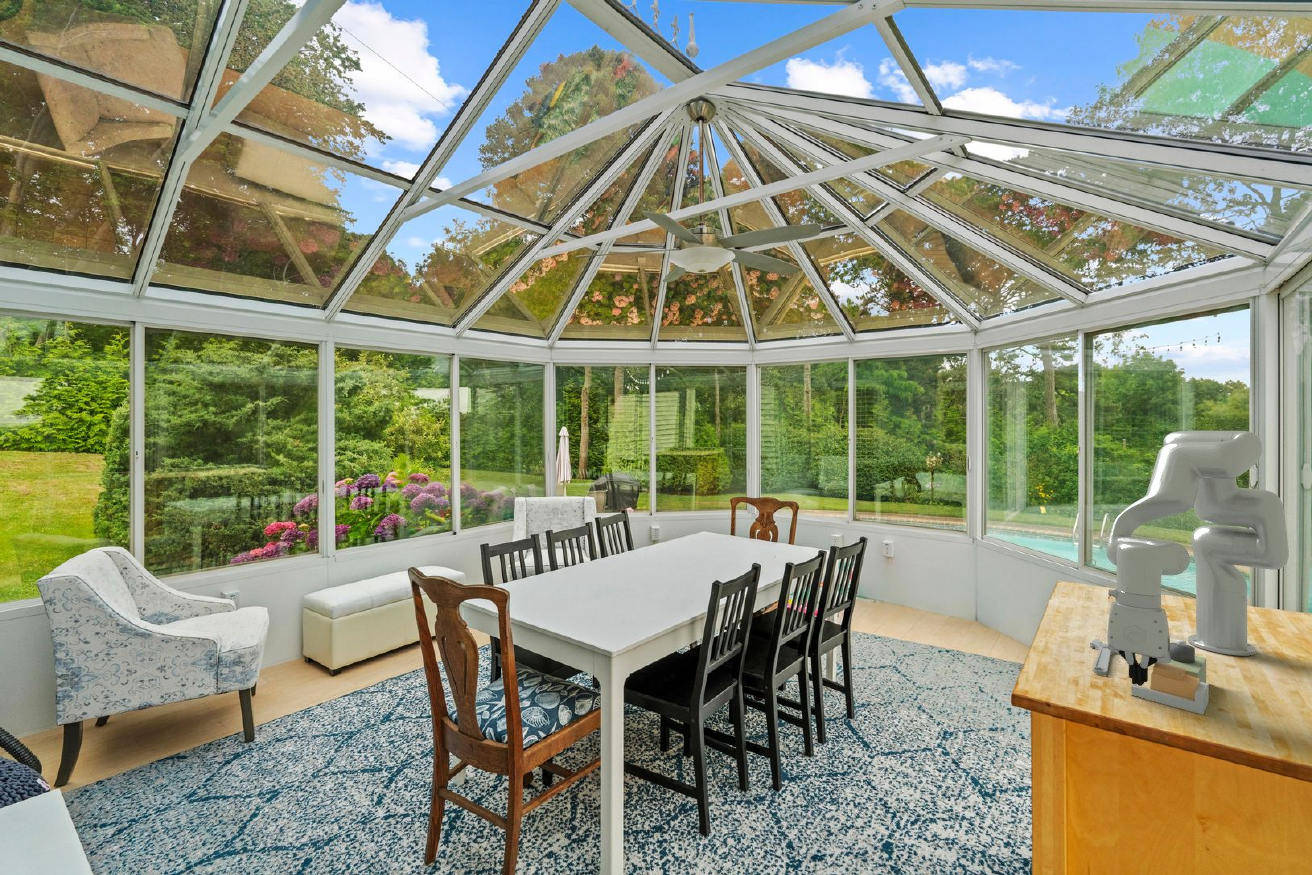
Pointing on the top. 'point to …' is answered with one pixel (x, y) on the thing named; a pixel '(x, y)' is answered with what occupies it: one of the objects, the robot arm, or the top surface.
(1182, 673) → the stepped orange block
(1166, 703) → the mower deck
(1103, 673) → the adjustable wrench
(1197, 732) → the top surface
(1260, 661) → the top surface
